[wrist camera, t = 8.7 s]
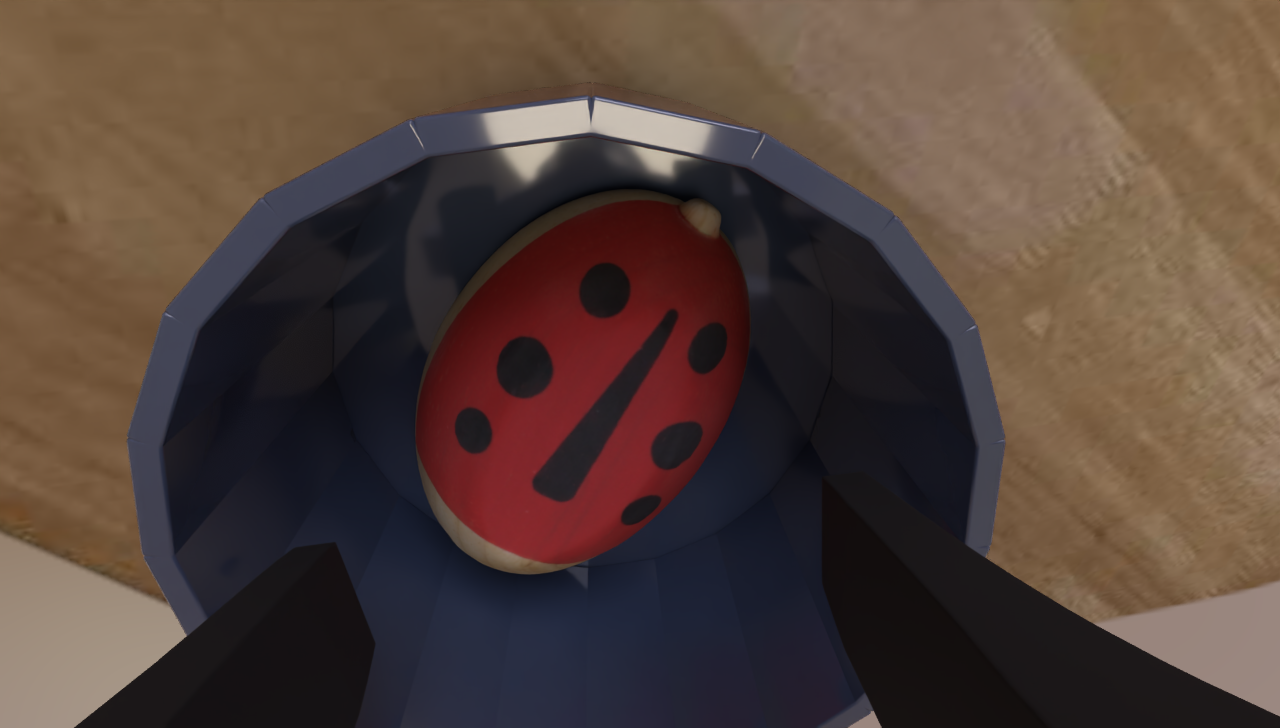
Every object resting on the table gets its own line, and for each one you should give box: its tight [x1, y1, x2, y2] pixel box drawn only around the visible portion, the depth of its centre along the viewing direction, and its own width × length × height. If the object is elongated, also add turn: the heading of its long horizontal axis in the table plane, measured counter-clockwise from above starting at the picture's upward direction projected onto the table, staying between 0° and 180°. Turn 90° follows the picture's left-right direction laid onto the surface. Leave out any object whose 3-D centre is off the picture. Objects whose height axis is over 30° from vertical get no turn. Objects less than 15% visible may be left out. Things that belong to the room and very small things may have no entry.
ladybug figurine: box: [415, 189, 751, 574], centre depth 14 cm, size 7×10×4 cm
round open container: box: [127, 82, 1005, 728], centre depth 13 cm, size 13×13×7 cm
